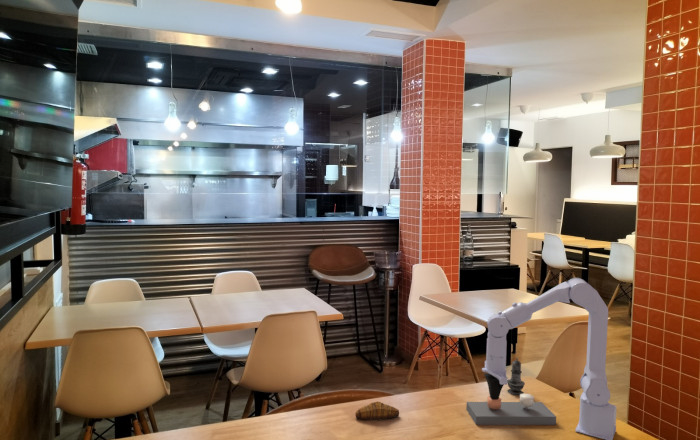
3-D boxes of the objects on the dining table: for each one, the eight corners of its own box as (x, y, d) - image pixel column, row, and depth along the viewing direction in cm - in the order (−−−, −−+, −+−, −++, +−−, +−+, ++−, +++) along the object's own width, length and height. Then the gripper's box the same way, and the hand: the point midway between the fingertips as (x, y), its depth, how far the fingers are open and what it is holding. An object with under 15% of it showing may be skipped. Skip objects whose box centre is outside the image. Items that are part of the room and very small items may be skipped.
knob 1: (497, 411, 150) (498, 395, 150) (502, 416, 146) (503, 401, 146) (485, 410, 150) (485, 395, 150) (489, 416, 146) (490, 401, 146)
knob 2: (529, 408, 151) (530, 393, 151) (535, 414, 147) (536, 399, 147) (517, 408, 151) (517, 393, 150) (522, 414, 147) (523, 399, 146)
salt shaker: (521, 389, 170) (523, 355, 169) (526, 396, 164) (528, 361, 163) (504, 388, 171) (506, 354, 170) (508, 395, 165) (509, 360, 164)
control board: (541, 409, 154) (541, 402, 154) (555, 424, 144) (556, 416, 144) (466, 409, 153) (466, 401, 153) (475, 424, 143) (476, 416, 143)
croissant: (357, 424, 142) (357, 407, 142) (353, 413, 148) (353, 397, 148) (402, 421, 144) (402, 405, 144) (396, 411, 151) (396, 395, 150)
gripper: (475, 346, 154) (474, 388, 155) (491, 363, 140) (489, 409, 141) (497, 347, 155) (496, 389, 155) (515, 363, 140) (513, 409, 141)
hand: (494, 398), depth 148 cm, fingers closed, pressing on knob 1
